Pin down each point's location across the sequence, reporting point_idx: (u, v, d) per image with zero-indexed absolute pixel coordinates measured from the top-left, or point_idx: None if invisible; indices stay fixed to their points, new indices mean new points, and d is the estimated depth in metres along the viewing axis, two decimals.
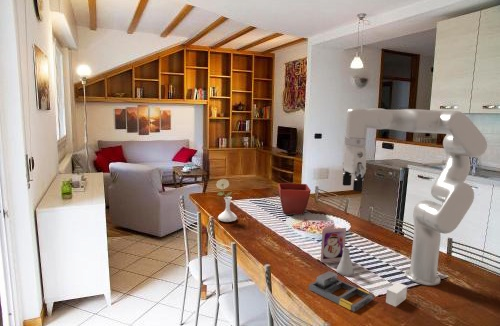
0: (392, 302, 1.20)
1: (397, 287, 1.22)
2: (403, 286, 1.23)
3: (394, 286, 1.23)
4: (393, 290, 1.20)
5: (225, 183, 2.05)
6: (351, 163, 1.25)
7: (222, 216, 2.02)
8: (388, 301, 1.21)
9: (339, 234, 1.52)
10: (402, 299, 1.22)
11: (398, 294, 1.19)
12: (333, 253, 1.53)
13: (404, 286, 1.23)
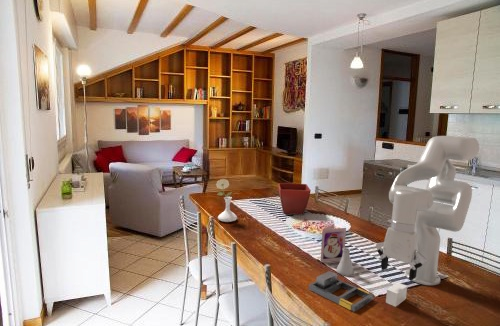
0: (392, 302, 1.20)
1: (397, 287, 1.22)
2: (402, 286, 1.23)
3: (394, 286, 1.23)
4: (393, 290, 1.20)
5: (225, 183, 2.05)
6: None
7: (222, 216, 2.02)
8: (388, 301, 1.21)
9: (339, 234, 1.52)
10: (402, 299, 1.22)
11: (398, 294, 1.19)
12: (333, 252, 1.53)
13: (404, 286, 1.23)
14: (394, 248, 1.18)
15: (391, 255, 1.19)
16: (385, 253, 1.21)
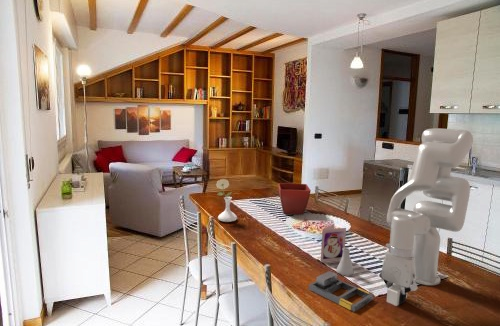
0: (393, 302, 1.20)
1: (398, 286, 1.22)
2: None
3: (395, 286, 1.23)
4: (393, 289, 1.20)
5: (225, 183, 2.05)
6: None
7: (222, 216, 2.02)
8: (389, 300, 1.21)
9: (339, 234, 1.52)
10: None
11: (399, 293, 1.20)
12: (333, 252, 1.53)
13: None
14: (392, 272, 1.20)
15: (390, 279, 1.21)
16: (384, 277, 1.23)
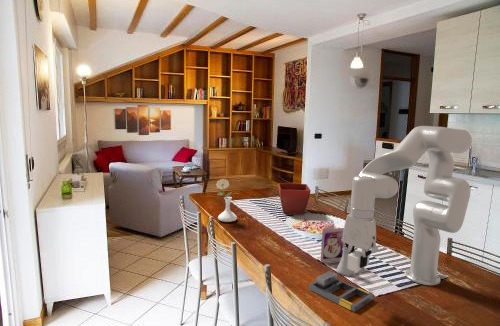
0: (353, 268, 1.17)
1: (359, 252, 1.19)
2: None
3: (356, 252, 1.19)
4: (354, 255, 1.17)
5: (225, 183, 2.05)
6: None
7: (222, 216, 2.02)
8: (349, 267, 1.18)
9: (339, 234, 1.52)
10: None
11: (359, 258, 1.16)
12: (333, 252, 1.53)
13: None
14: (353, 235, 1.16)
15: (350, 242, 1.17)
16: (345, 240, 1.19)
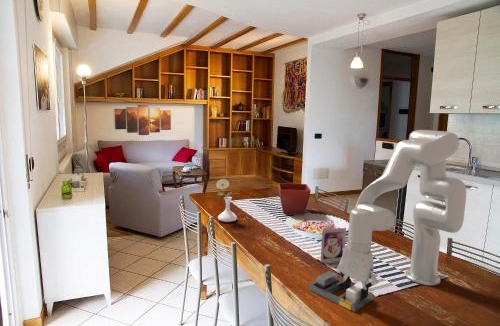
0: None
1: (357, 287, 1.21)
2: None
3: (354, 287, 1.22)
4: (352, 290, 1.19)
5: (225, 183, 2.05)
6: None
7: (222, 216, 2.02)
8: None
9: (339, 234, 1.52)
10: None
11: (357, 294, 1.19)
12: (333, 252, 1.53)
13: None
14: (351, 267, 1.18)
15: (348, 274, 1.19)
16: (343, 271, 1.21)
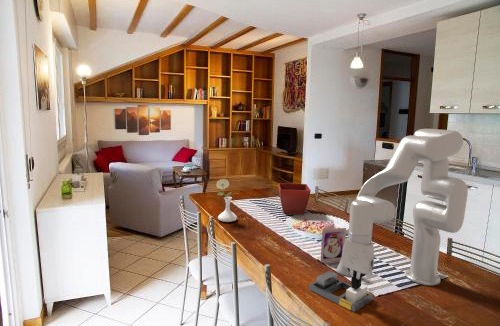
0: None
1: None
2: (363, 286, 1.22)
3: None
4: (352, 290, 1.19)
5: (225, 183, 2.05)
6: None
7: (222, 216, 2.02)
8: None
9: (339, 234, 1.52)
10: None
11: (357, 294, 1.19)
12: (333, 252, 1.53)
13: (364, 286, 1.22)
14: (351, 259, 1.18)
15: (349, 266, 1.19)
16: (343, 263, 1.20)
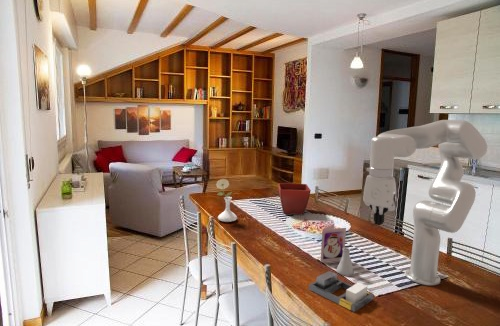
0: None
1: (357, 287, 1.21)
2: (363, 286, 1.22)
3: (354, 287, 1.22)
4: (352, 290, 1.19)
5: (225, 183, 2.05)
6: None
7: (222, 216, 2.02)
8: None
9: (339, 234, 1.52)
10: None
11: (357, 294, 1.19)
12: (333, 252, 1.53)
13: (364, 286, 1.22)
14: (373, 195, 1.19)
15: (371, 202, 1.20)
16: (365, 201, 1.22)
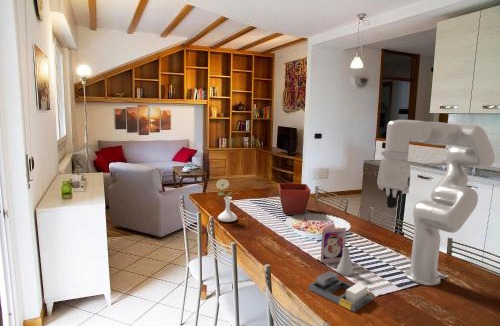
0: None
1: (357, 287, 1.21)
2: (363, 286, 1.22)
3: (354, 287, 1.22)
4: (352, 290, 1.19)
5: (225, 183, 2.05)
6: None
7: (222, 216, 2.02)
8: None
9: (339, 234, 1.52)
10: None
11: (358, 294, 1.19)
12: (333, 252, 1.53)
13: (364, 286, 1.22)
14: (388, 177, 1.22)
15: (385, 185, 1.22)
16: (379, 184, 1.24)
